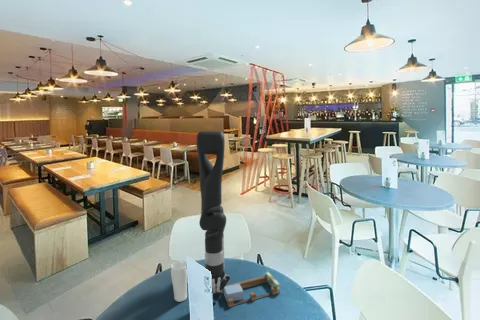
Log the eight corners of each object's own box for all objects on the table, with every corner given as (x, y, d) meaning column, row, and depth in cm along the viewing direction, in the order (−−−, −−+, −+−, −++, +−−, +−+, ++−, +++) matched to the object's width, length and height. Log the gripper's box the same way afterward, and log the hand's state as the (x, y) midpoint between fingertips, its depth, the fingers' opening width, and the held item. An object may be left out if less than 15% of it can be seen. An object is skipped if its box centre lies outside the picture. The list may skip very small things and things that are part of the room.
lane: (220, 291, 116) (220, 283, 116) (268, 279, 125) (268, 271, 124) (228, 307, 106) (228, 298, 106) (280, 292, 115) (280, 284, 114)
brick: (224, 295, 114) (223, 286, 114) (239, 291, 116) (239, 283, 116) (227, 303, 109) (227, 294, 109) (243, 299, 111) (243, 290, 111)
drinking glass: (172, 304, 108) (170, 270, 106) (172, 294, 115) (170, 262, 113) (189, 301, 110) (188, 267, 108) (188, 292, 117) (186, 260, 115)
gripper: (226, 253, 113) (227, 290, 116) (196, 259, 109) (197, 298, 111) (232, 261, 106) (233, 300, 109) (200, 268, 102) (202, 309, 104)
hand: (215, 299), depth 110 cm, fingers closed
